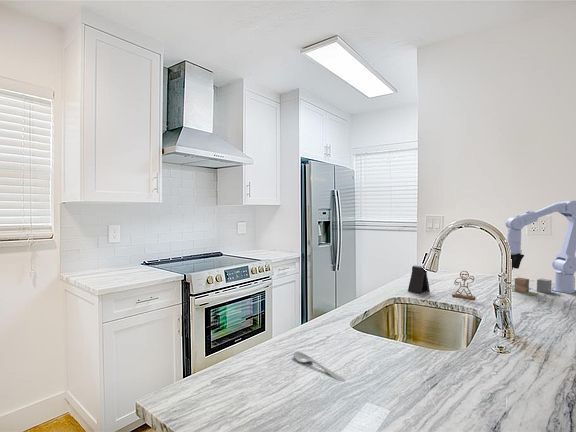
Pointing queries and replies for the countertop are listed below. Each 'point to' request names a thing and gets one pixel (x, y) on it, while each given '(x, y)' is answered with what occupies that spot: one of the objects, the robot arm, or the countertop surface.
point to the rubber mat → (526, 292)
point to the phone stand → (418, 280)
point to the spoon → (300, 356)
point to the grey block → (544, 285)
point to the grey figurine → (464, 289)
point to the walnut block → (521, 285)
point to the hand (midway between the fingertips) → (512, 269)
